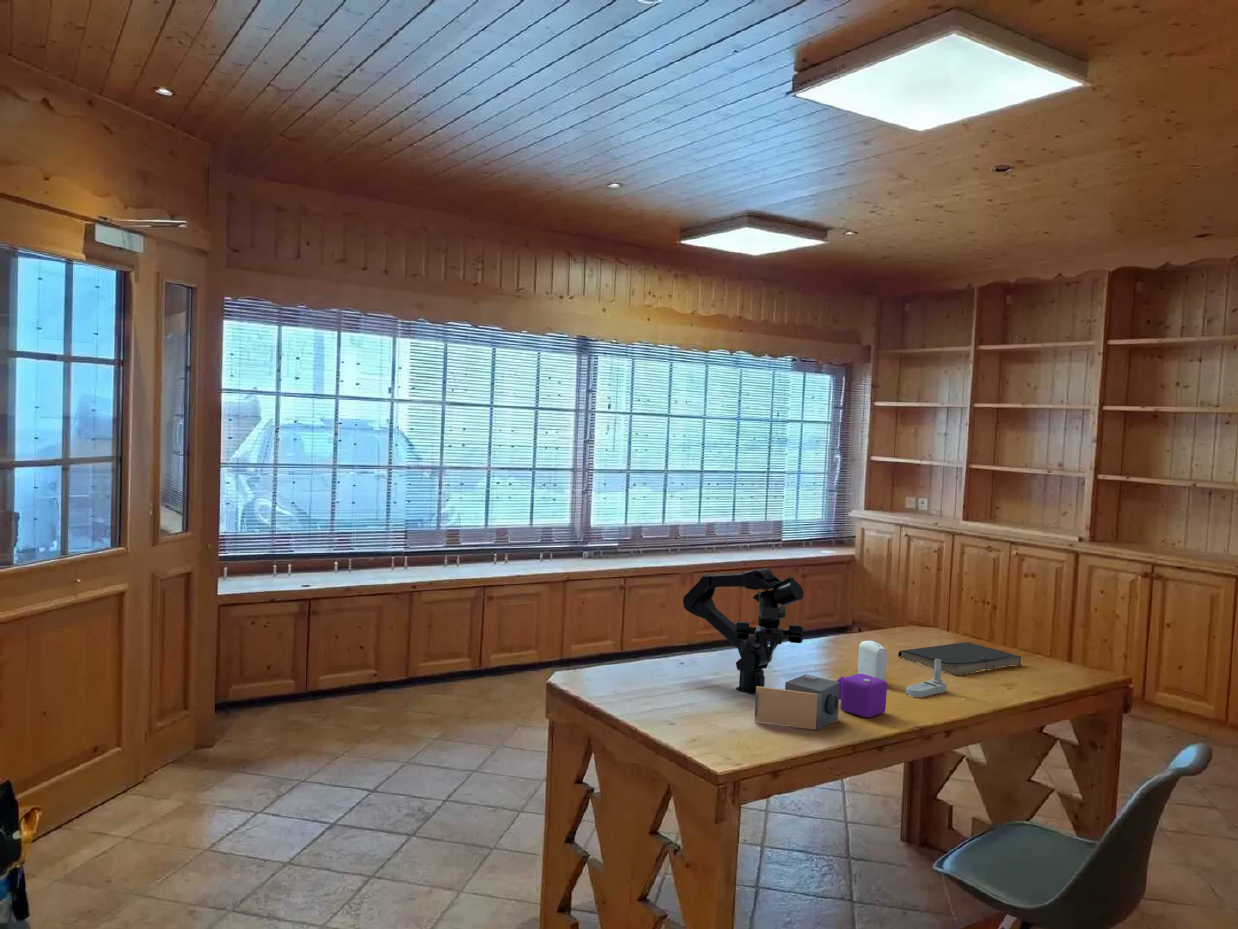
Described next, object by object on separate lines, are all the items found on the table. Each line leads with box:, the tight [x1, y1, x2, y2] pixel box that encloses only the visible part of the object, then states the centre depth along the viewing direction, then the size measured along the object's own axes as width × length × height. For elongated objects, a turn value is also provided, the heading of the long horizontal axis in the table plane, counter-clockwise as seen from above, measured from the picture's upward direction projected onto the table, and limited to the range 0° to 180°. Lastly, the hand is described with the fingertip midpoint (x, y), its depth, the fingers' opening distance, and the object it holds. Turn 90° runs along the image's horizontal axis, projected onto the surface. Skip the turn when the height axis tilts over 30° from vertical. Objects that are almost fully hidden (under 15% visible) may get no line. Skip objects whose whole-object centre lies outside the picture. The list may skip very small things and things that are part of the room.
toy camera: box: [836, 673, 888, 719], centre depth 238 cm, size 11×14×10 cm
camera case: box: [784, 674, 840, 729], centre depth 228 cm, size 11×11×11 cm
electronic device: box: [905, 658, 947, 698], centre depth 258 cm, size 5×10×15 cm
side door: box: [754, 686, 822, 731], centre depth 223 cm, size 17×2×9 cm, turn 74°
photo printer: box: [857, 640, 888, 682], centre depth 267 cm, size 10×4×12 cm, turn 20°
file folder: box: [897, 641, 1022, 676], centre depth 296 cm, size 33×4×24 cm
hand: (768, 659), depth 237 cm, fingers closed
